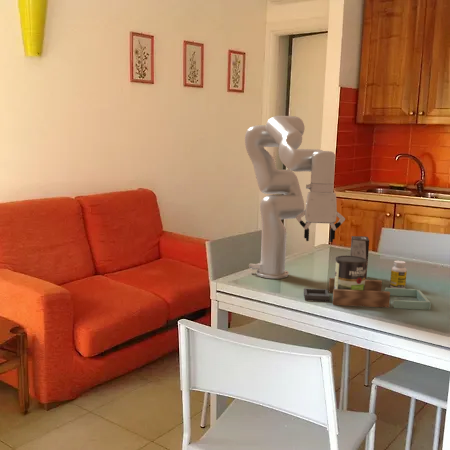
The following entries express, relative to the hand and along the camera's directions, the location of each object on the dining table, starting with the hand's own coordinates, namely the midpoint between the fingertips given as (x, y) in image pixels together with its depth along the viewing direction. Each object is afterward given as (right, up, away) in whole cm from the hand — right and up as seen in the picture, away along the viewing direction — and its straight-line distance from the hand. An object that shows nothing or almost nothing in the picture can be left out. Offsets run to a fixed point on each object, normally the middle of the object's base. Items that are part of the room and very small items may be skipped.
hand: (319, 240), depth 184 cm
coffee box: (+20, -16, +28) cm, 38 cm away
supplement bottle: (+32, -18, +18) cm, 41 cm away
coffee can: (+10, -20, +3) cm, 23 cm away
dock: (+29, -21, +1) cm, 36 cm away
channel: (+13, -20, +2) cm, 24 cm away
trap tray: (0, -20, +3) cm, 20 cm away
